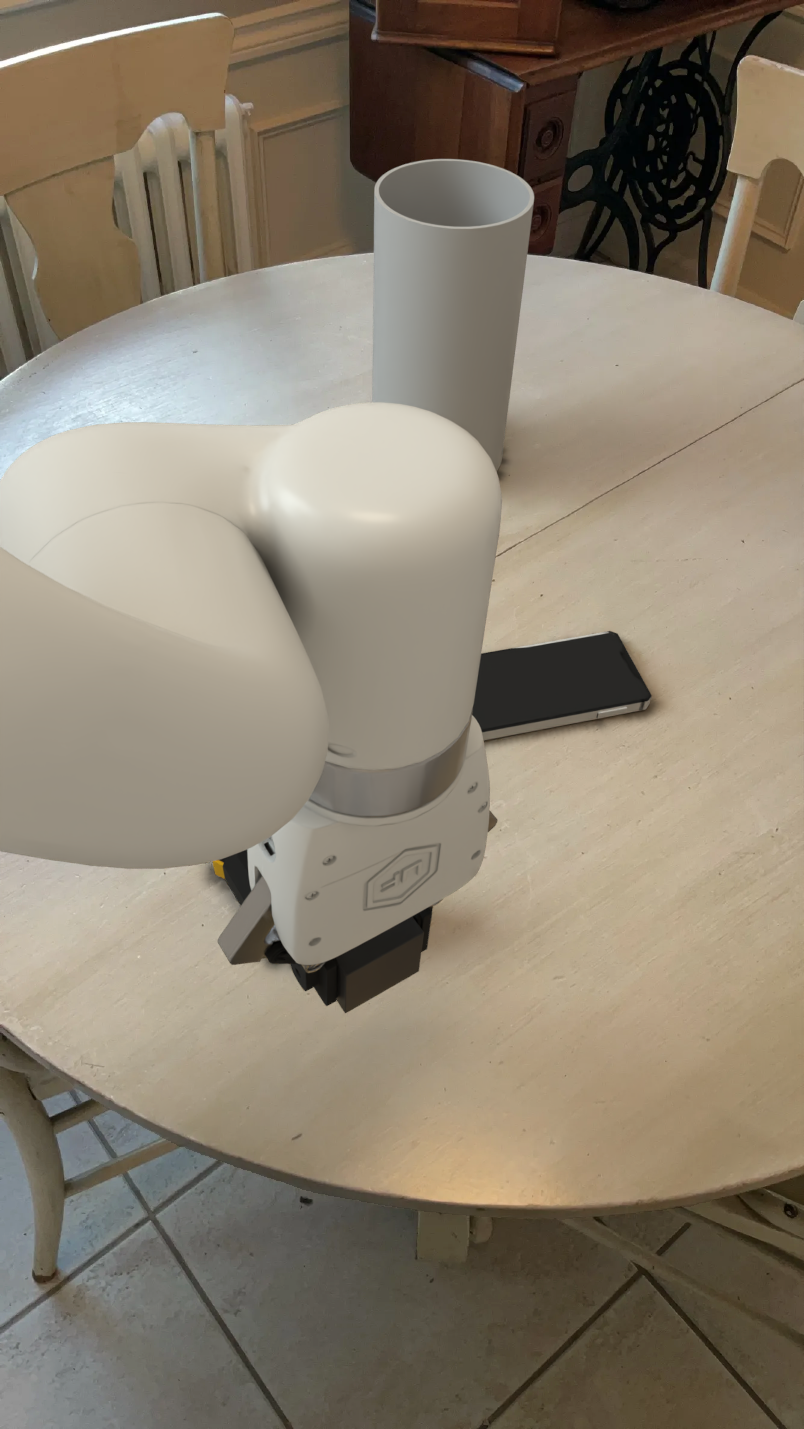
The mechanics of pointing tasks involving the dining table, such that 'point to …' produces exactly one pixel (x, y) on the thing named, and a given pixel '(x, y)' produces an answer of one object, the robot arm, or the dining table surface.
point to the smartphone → (556, 685)
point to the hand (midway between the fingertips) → (361, 953)
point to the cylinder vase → (450, 291)
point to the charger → (379, 964)
